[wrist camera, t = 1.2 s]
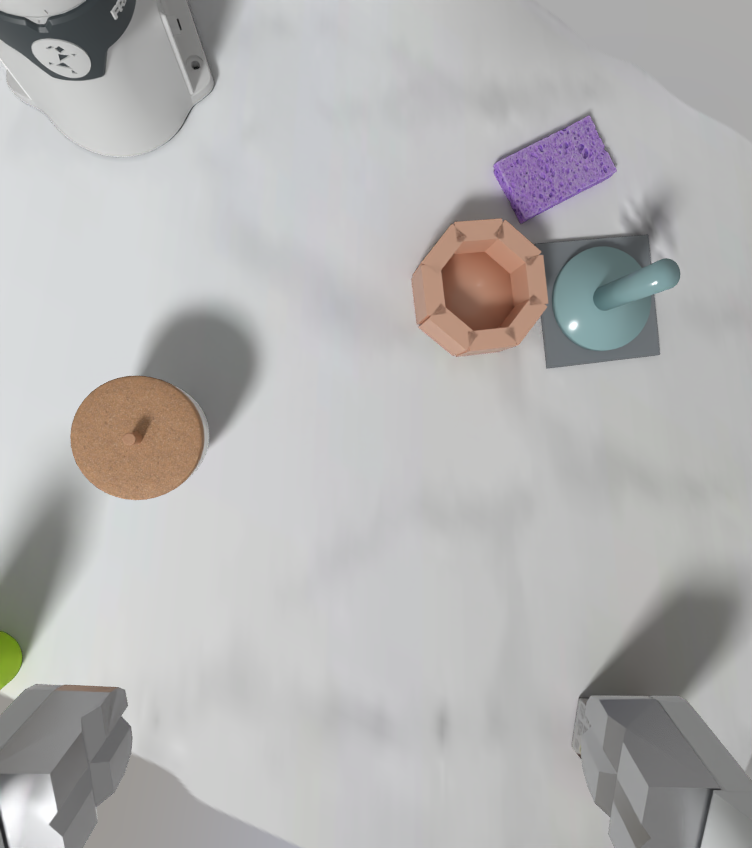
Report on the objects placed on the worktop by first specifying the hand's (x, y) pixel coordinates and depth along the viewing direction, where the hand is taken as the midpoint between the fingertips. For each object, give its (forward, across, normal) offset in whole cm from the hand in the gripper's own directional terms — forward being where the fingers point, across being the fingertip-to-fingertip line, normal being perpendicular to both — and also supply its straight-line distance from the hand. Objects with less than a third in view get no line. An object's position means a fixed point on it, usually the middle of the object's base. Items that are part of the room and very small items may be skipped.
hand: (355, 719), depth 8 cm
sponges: (+50, -19, -23) cm, 59 cm away
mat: (+48, -25, -9) cm, 55 cm away
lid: (+47, -25, -9) cm, 54 cm away
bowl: (+46, -10, -10) cm, 48 cm away
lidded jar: (+38, +22, +5) cm, 44 cm away
